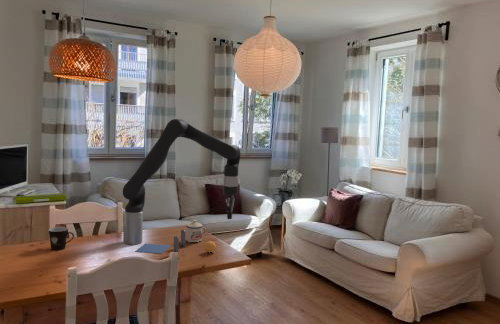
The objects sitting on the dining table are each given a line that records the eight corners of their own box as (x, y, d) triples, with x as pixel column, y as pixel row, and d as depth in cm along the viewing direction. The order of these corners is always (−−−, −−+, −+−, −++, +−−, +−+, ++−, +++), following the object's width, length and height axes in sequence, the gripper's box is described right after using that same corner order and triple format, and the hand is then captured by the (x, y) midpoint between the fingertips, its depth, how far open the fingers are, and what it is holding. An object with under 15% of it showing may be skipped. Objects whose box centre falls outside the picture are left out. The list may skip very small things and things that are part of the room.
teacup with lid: (190, 244, 219) (191, 223, 218) (183, 239, 226) (183, 219, 225) (209, 241, 226) (210, 220, 225) (201, 237, 233) (202, 217, 232)
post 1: (172, 254, 199) (173, 237, 198) (174, 253, 201) (174, 236, 201) (177, 255, 199) (177, 237, 198) (178, 253, 201) (179, 236, 200)
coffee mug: (44, 249, 200) (44, 229, 199) (60, 245, 207) (60, 226, 206) (60, 253, 194) (60, 233, 193) (75, 249, 202) (75, 229, 201)
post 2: (180, 247, 212) (180, 230, 211) (181, 246, 214) (181, 229, 213) (184, 247, 212) (184, 231, 211) (185, 246, 214) (186, 229, 213)
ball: (202, 254, 202) (203, 242, 202) (205, 250, 208) (205, 239, 208) (214, 255, 202) (214, 243, 201) (216, 251, 207) (217, 240, 207)
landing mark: (135, 251, 202) (135, 251, 202) (145, 243, 216) (145, 243, 216) (161, 253, 200) (161, 253, 200) (170, 245, 214) (170, 245, 214)
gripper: (225, 182, 208) (224, 215, 209) (220, 186, 195) (219, 221, 196) (239, 183, 207) (238, 216, 208) (236, 187, 194) (234, 222, 195)
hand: (229, 218), depth 202 cm, fingers closed
